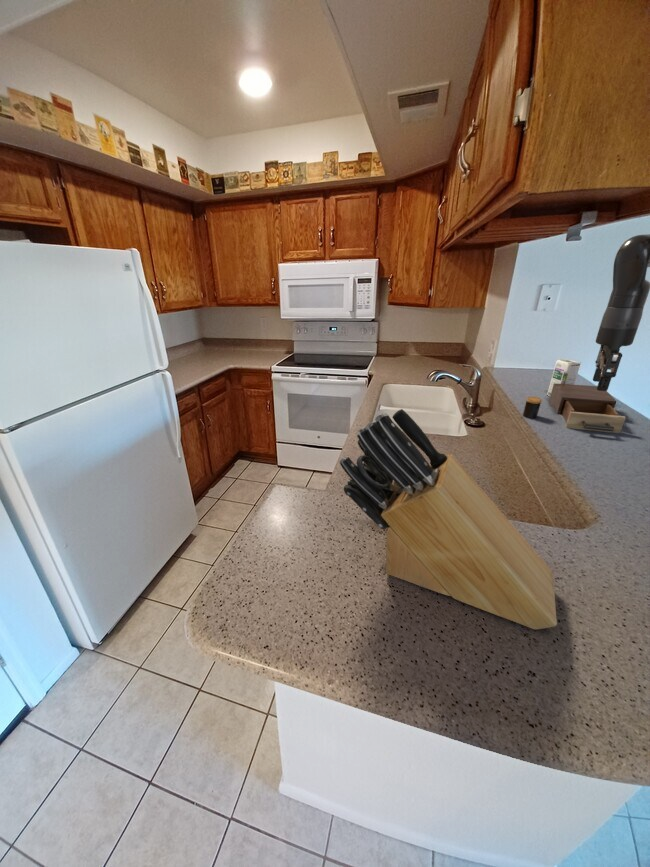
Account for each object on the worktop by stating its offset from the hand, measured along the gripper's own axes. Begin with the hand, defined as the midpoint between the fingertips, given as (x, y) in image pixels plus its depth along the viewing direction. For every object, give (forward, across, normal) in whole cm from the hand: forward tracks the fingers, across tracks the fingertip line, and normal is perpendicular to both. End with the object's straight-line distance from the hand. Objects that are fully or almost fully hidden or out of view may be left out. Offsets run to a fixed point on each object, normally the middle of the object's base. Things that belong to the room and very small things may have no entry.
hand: (599, 385), depth 91 cm
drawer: (+17, +11, -2) cm, 20 cm away
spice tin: (+18, +10, +14) cm, 25 cm away
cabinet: (+18, +24, -1) cm, 30 cm away
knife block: (+18, -66, +27) cm, 74 cm away
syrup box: (+18, +39, +4) cm, 43 cm away
